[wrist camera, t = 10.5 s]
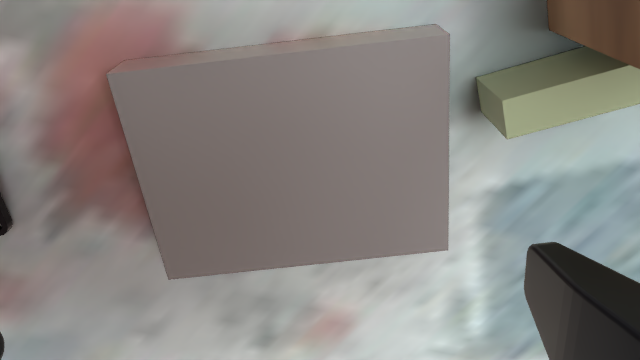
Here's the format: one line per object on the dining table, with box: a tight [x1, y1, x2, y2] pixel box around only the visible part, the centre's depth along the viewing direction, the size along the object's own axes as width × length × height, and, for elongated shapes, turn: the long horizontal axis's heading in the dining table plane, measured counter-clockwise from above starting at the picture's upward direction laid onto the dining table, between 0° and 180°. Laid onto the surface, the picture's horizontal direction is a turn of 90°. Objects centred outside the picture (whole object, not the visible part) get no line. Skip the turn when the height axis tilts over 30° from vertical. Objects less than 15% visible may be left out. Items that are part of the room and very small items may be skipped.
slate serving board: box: [106, 24, 450, 280], centre depth 20 cm, size 12×9×2 cm
